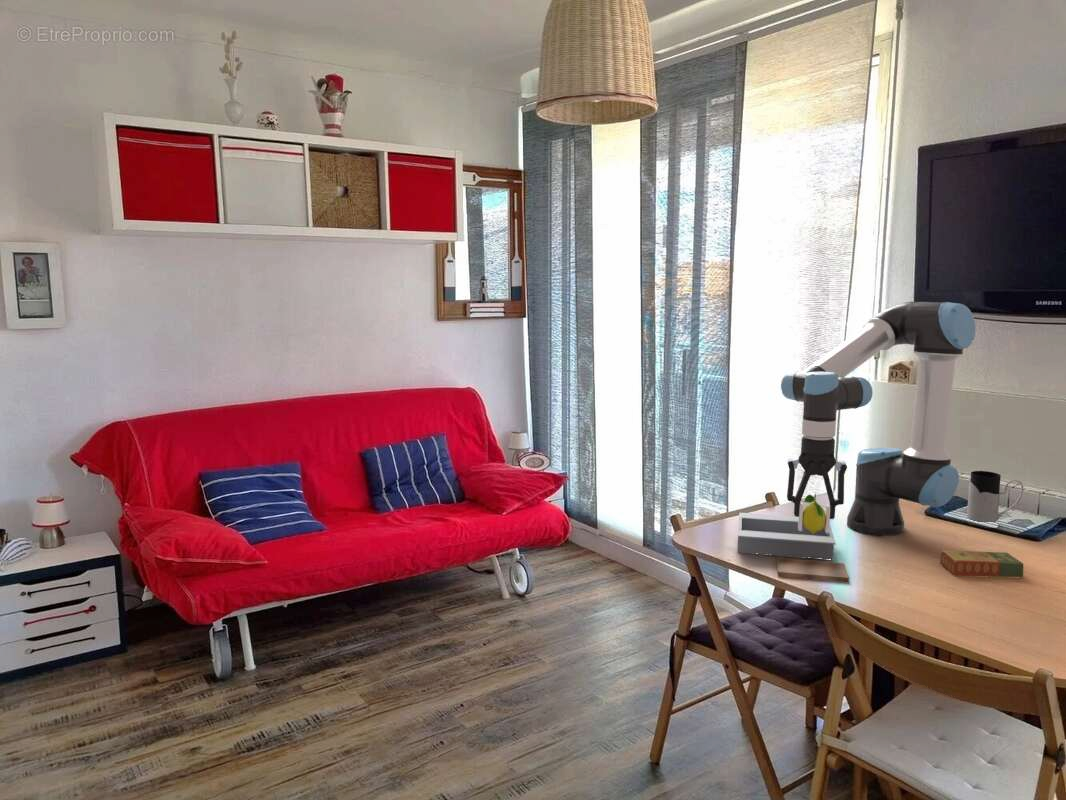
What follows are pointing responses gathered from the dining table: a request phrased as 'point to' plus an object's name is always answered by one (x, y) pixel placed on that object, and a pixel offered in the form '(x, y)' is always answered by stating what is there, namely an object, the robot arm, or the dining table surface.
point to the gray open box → (782, 537)
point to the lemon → (813, 515)
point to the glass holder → (986, 496)
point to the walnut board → (812, 570)
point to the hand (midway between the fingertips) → (813, 530)
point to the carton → (981, 564)
